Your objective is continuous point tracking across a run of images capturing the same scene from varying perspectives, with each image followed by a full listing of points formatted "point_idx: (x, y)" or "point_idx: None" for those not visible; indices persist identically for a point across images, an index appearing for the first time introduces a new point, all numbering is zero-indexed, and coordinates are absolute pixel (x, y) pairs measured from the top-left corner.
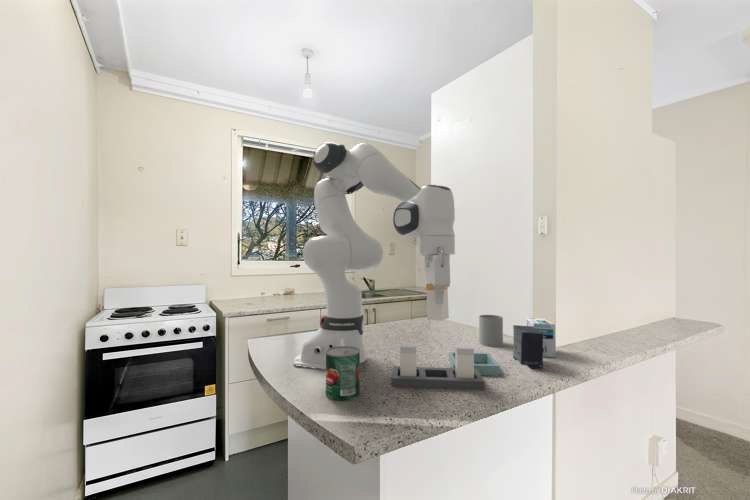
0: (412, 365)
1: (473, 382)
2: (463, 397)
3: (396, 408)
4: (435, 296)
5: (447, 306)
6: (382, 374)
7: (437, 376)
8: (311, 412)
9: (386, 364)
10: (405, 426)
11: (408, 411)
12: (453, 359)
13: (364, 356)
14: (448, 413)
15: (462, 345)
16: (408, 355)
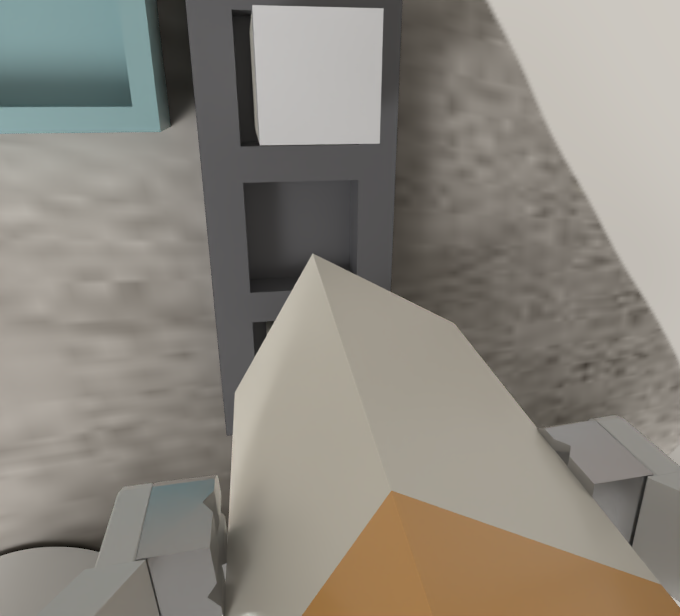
0: None
1: (399, 46)
2: (424, 108)
3: (518, 359)
4: (659, 567)
5: (352, 319)
6: (198, 453)
7: (246, 221)
8: None
9: (46, 462)
10: (631, 322)
11: (540, 321)
12: (46, 119)
13: (52, 576)
14: (562, 187)
15: (294, 89)
16: None
